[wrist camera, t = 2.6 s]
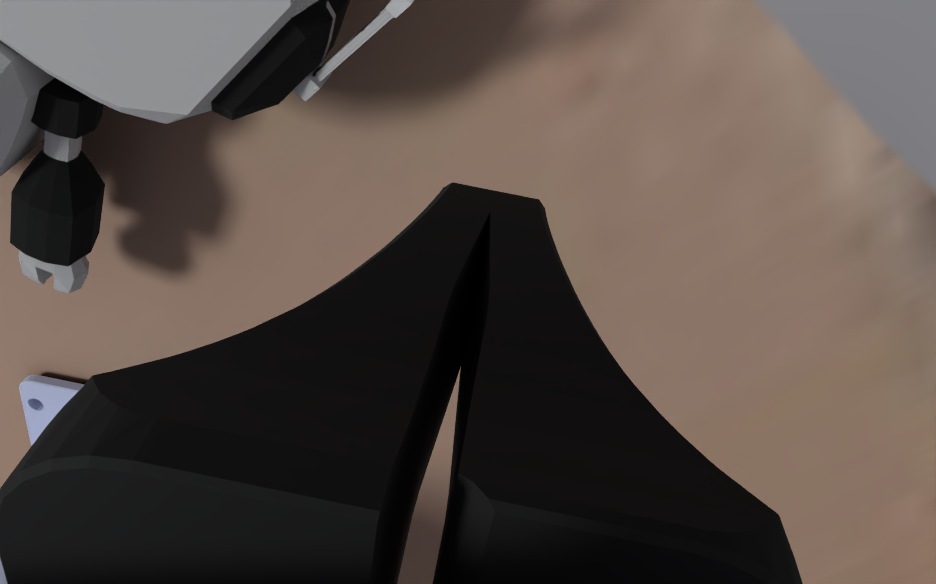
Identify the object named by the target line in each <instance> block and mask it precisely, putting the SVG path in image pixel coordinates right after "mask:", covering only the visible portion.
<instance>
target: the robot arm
mask: <svg viewBox="0 0 936 584" xmlns="http://www.w3.org/2000/svg"><path fill="white" fill-rule="evenodd" d="M460 367H461V371H460V381H459V391H458V402H457V412H456V423H455V434H454V444H453V455H452V466H451V476H450V487H449V496H448V503H447V510H446V517H445V524H444V529H443V534H442V539H441V544H440V549H439V554H438V559H437V564H436V570H435V575H434V580H433V584H802V580H801V577H800V574H799V571H798V568H797V565H796V561H795V558H794V555H793V552H792V550H791V547H790V544H789V542H788V539H787V536H786V533H785V531H784V528H783V525H782V522H781V519H780V517H779V515H778V514H777V513H776V512H774V511H773V510H772V509H771V508H769V507H768V506H767V505H765V504H764V503H763V502H761V501H760V500H759V499H758V498H756V497H755V496H754V495H752V494H751V493H750V492H748V491H747V490H746V489H744V488H743V487H742V486H741V485H739V484H738V483H737V482H735V481H734V480H733V479H731V478H730V477H729V476H728V475H726V474H725V473H724V472H722V471H721V470H720V469H719V468H717V467H716V466H715V465H714V464H713V463H711V462H710V461H709V460H708V459H707V458H706V457H705V456H704V455H703V454H702V453H700V452H699V451H698V450H697V449H696V448H695V447H694V446H693V445H692V444H691V443H689V442H688V441H687V440H686V439H685V438H684V437H683V436H682V435H681V434H680V433H679V432H678V431H677V430H676V429H675V428H674V427H673V426H672V425H671V424H670V423H669V422H668V421H667V420H666V419H665V418H664V417H663V416H662V415H661V414H660V413H659V412H658V411H657V410H656V409H655V407H654V406H653V405H652V404H651V403H650V402H649V401H648V400H647V399H646V397H645V396H644V395H643V394H642V393H641V392H640V391H639V390H638V388H637V387H636V386H635V385H634V384H633V383H632V381H631V380H630V379H629V378H628V376H627V375H626V374H625V373H624V371H623V370H622V369H621V367H620V366H619V364H618V363H617V362H616V360H615V359H614V357H613V356H612V355H611V353H610V352H609V350H608V349H607V347H606V346H605V344H604V342H603V341H602V339H601V338H600V336H599V334H598V333H597V331H596V330H595V328H594V326H593V324H592V323H591V321H590V319H589V317H588V315H587V314H586V312H585V310H584V308H583V306H582V305H581V303H580V301H579V299H578V297H577V295H576V293H575V291H574V289H573V286H572V284H571V282H570V280H569V278H568V275H567V273H566V271H565V269H564V266H563V264H562V262H561V259H560V257H559V254H558V252H557V249H556V246H555V243H554V241H553V238H552V235H551V232H550V228H549V225H548V221H547V217H546V212H545V208H544V206H543V205H542V203H541V202H540V200H539V199H533V198H528V197H523V196H518V195H513V194H508V193H503V192H498V191H493V190H488V189H483V188H478V187H473V186H468V185H463V184H458V183H451V184H449V185H447V186H446V187H444V188H443V189H442V190H441V192H440V193H439V194H438V195H437V196H436V198H435V199H434V200H433V201H432V202H431V203H430V204H429V205H428V207H427V208H426V209H425V210H424V211H423V212H422V213H421V214H420V215H419V216H418V217H417V218H416V219H415V220H414V221H413V222H412V223H411V224H410V225H409V226H407V227H406V228H405V229H404V230H403V231H402V232H401V233H400V234H399V235H397V236H396V237H395V238H394V239H393V240H392V241H391V242H390V243H389V244H388V245H386V246H385V247H384V248H383V249H382V250H380V251H379V252H378V253H376V254H375V255H374V256H373V257H371V258H370V259H369V260H367V261H366V262H365V263H363V264H362V265H361V266H360V267H358V268H357V269H356V270H354V271H353V272H352V273H350V274H349V275H348V276H346V277H345V278H343V279H342V280H340V281H339V282H337V283H336V284H334V285H333V286H331V287H330V288H328V289H327V290H325V291H324V292H322V293H320V294H318V295H317V296H315V297H313V298H312V299H310V300H308V301H307V302H305V303H303V304H302V305H300V306H298V307H296V308H294V309H292V310H290V311H288V312H286V313H283V314H281V315H279V316H277V317H275V318H273V319H271V320H269V321H266V322H264V323H262V324H260V325H258V326H256V327H254V328H251V329H249V330H247V331H244V332H242V333H239V334H236V335H234V336H231V337H228V338H226V339H223V340H220V341H218V342H215V343H212V344H209V345H206V346H203V347H200V348H197V349H194V350H191V351H188V352H185V353H181V354H178V355H175V356H171V357H168V358H164V359H160V360H156V361H152V362H148V363H144V364H140V365H136V366H132V367H128V368H124V369H120V370H116V371H112V372H107V373H102V374H98V375H93V376H92V377H91V378H90V379H89V380H88V381H87V382H86V384H85V385H84V384H80V383H75V382H70V381H65V380H60V379H55V378H50V377H45V376H40V375H29V376H27V377H26V378H25V379H24V380H23V382H22V383H21V384H20V385H19V390H20V395H21V400H22V404H23V409H24V414H25V418H26V423H27V428H28V432H29V437H30V442H31V448H30V449H29V450H28V452H27V453H26V455H25V456H24V457H23V459H22V460H21V461H20V463H19V464H18V465H17V467H16V468H15V469H14V471H13V472H12V473H11V475H10V476H9V477H8V479H7V480H6V481H5V483H4V484H3V486H2V487H1V489H0V584H397V581H398V576H399V572H400V568H401V563H402V559H403V554H404V550H405V545H406V541H407V536H408V532H409V528H410V523H411V519H412V514H413V511H414V507H415V504H416V500H417V497H418V493H419V490H420V487H421V484H422V481H423V478H424V475H425V472H426V469H427V466H428V463H429V460H430V457H431V454H432V451H433V448H434V445H435V442H436V439H437V436H438V433H439V430H440V427H441V424H442V421H443V418H444V415H445V412H446V409H447V406H448V403H449V400H450V397H451V394H452V391H453V388H454V385H455V382H456V379H457V376H458V373H459V370H460Z"/></svg>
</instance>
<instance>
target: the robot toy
mask: <svg viewBox="0 0 936 584" xmlns="http://www.w3.org/2000/svg"><path fill="white" fill-rule="evenodd" d="M413 2H414V0H391V1H390V2H389V3H388V5H387V6H386V7H385V9H384V10H382V11H381V12H380V13H379V14H378V15H377V16H376V17H375V18H374V19H373V20H371V21H370V22H369V23H368V24H367V25H366V26H365V27H364V28H363V29H362V30H360V31H359V32H358V33H357V34H356V35H355V36H354V37H353V38H352V39H351V40H349V41H348V42H347V43H346V44H345V45H344V46H343V47H342V48H341V49H340V50H338V51H337V52H336V53H335V54H334V55H333V56H332V57H331V58H330V59H329V60H327V61H326V62H325V63H324V64H323V65H322V64H321V62H322V60H323V59H324V58H325V56H326V55H327V54H328V52H329V51H330V50H331V49H332V47H333V45H334V43H335V40H336V38H337V35H338V32H339V30H340V27H341V24H342V21H343V18H344V15H345V12H346V9H347V6H348V3H349V0H0V176H2V175H3V174H4V173H5V172H6V171H7V170H9V169H10V168H11V167H12V166H13V165H14V164H16V163H17V162H18V161H19V160H20V159H21V158H22V157H24V156H25V155H26V154H27V153H28V152H29V151H31V150H32V149H33V148H34V147H35V146H36V145H38V144H39V143H40V142H41V141H42V140H43V139H44V149H43V150H42V151H41V152H40V153H39V154H38V155H37V156H36V157H35V158H34V159H33V161H32V162H31V163H30V164H29V166H28V167H27V168H26V169H25V171H24V172H23V173H22V175H21V177H20V178H19V180H18V182H17V184H16V185H15V187H14V189H13V191H12V201H11V233H10V243H11V244H12V245H14V246H15V247H16V248H18V249H19V256H18V257H19V261H20V264H21V268H22V271H23V274H24V275H25V276H27V277H28V278H30V279H32V280H33V281H36V282H38V283H40V284H43V285H44V283H45V281H46V280H47V279H48V278H49V277H51V276H52V274H54V288H53V289H55V290H58V291H60V292H63V293H70V292H73V291H75V290H77V289H80V288H81V287H82V285H83V283H84V281H85V279H86V277H87V275H88V268H89V262H88V260H87V258H86V256H85V255H87V254H88V253H90V252H91V250H92V248H93V246H94V243H95V241H96V239H97V236H98V234H99V229H100V221H101V212H102V204H103V196H104V187H105V184H104V182H103V181H102V179H101V178H100V176H99V174H98V173H97V171H96V170H95V168H94V166H93V165H92V163H91V162H90V161H89V159H88V158H87V157H86V155H85V154H84V153H83V151H82V150H81V145H82V136H83V135H85V134H87V133H89V132H91V131H93V130H95V128H96V126H97V124H98V122H99V120H100V118H101V116H102V109H103V104H104V105H106V106H108V107H110V108H113V109H115V110H117V111H119V112H122V113H126V114H130V115H134V116H137V117H141V118H145V119H149V120H153V121H157V122H160V123H164V124H168V123H172V122H175V121H178V120H182V119H185V118H188V117H192V116H195V115H198V114H202V113H205V112H208V111H214V112H216V113H219V114H221V115H223V116H225V117H227V118H229V119H231V120H234V119H237V118H240V117H242V116H245V115H248V114H251V113H254V112H257V111H259V110H262V109H265V108H268V107H271V106H274V105H277V104H279V103H280V102H281V101H282V100H283V99H284V98H285V97H286V96H287V95H288V94H289V93H290V92H291V91H292V90H294V91H295V92H296V93H297V94H298V95H299V96H300V97H301V98H302V99H303V100H304V101H306V100H308V99H309V98H310V97H311V96H312V95H313V94H314V93H316V92H317V91H318V90H319V89H320V88H321V87H322V86H323V84H324V83H325V82H326V81H327V79H328V78H329V77H330V76H331V75H332V74H331V72H332V71H333V70H334V69H335V68H336V67H337V66H339V65H340V64H341V63H342V62H343V61H344V60H345V59H346V58H348V57H349V56H350V55H351V54H352V53H353V52H354V51H356V50H357V49H358V48H359V47H360V46H361V45H362V44H363V43H365V42H366V41H367V40H368V39H369V38H370V37H371V36H372V35H374V34H375V33H376V32H377V31H378V30H379V29H380V28H381V27H383V26H384V25H385V24H386V23H387V22H388V21H389V20H391V19H392V18H393V17H394V18H397V17H398V16H399V15H400V14H401V13H402V12H403V11H404V10H406V9H407V8H408V7H409V6H410V5H411V4H412V3H413Z"/></svg>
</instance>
